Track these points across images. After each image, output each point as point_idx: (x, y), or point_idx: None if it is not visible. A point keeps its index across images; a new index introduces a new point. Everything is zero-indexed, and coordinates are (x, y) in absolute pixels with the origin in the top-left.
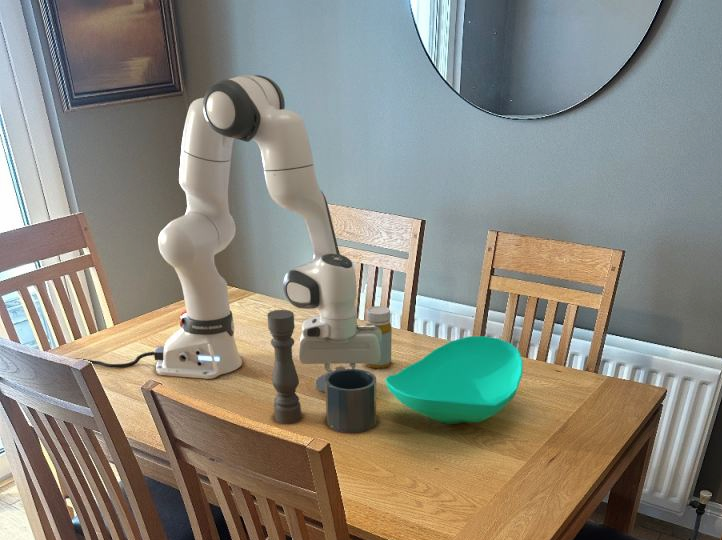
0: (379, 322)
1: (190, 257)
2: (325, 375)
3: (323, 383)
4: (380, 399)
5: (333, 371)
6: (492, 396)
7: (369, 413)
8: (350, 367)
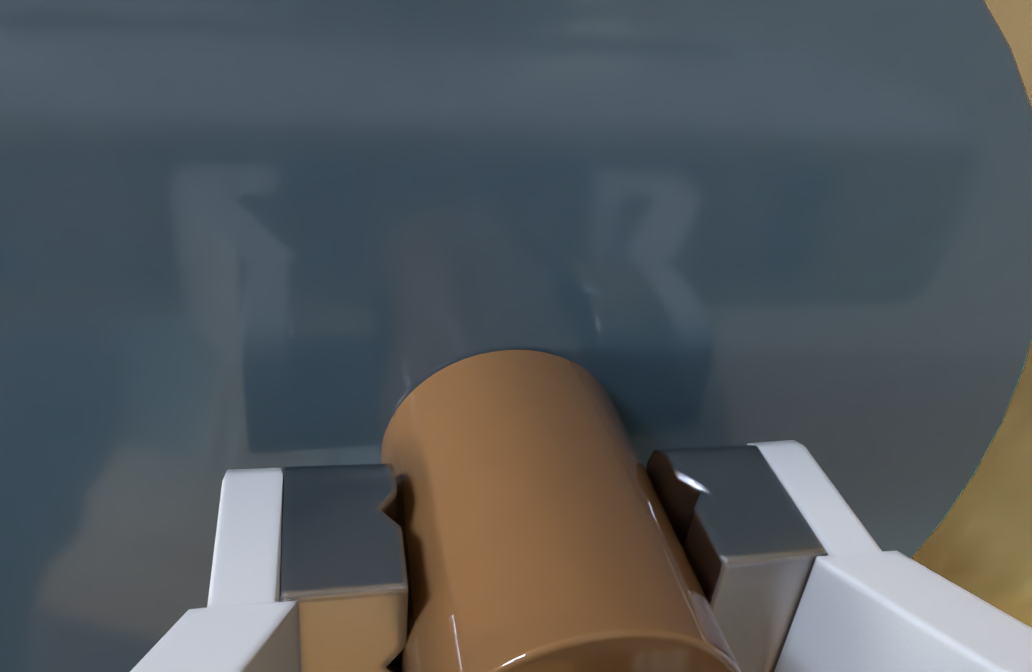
0: None
1: None
2: (37, 58)
3: (89, 534)
4: (984, 587)
5: (352, 635)
6: None
7: None
8: (921, 659)
